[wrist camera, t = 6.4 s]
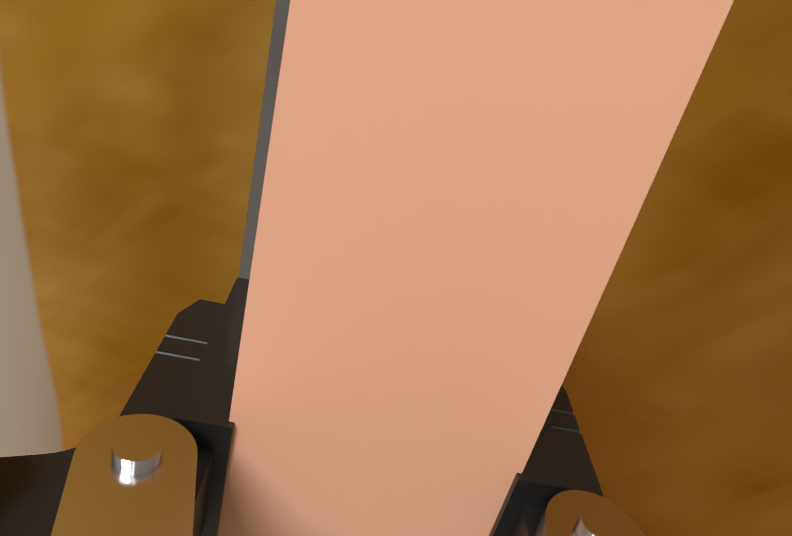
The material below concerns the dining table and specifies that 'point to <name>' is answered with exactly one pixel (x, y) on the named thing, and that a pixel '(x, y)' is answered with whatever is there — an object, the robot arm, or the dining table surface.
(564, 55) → the block
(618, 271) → the dining table surface
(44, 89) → the dining table surface
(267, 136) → the rail
